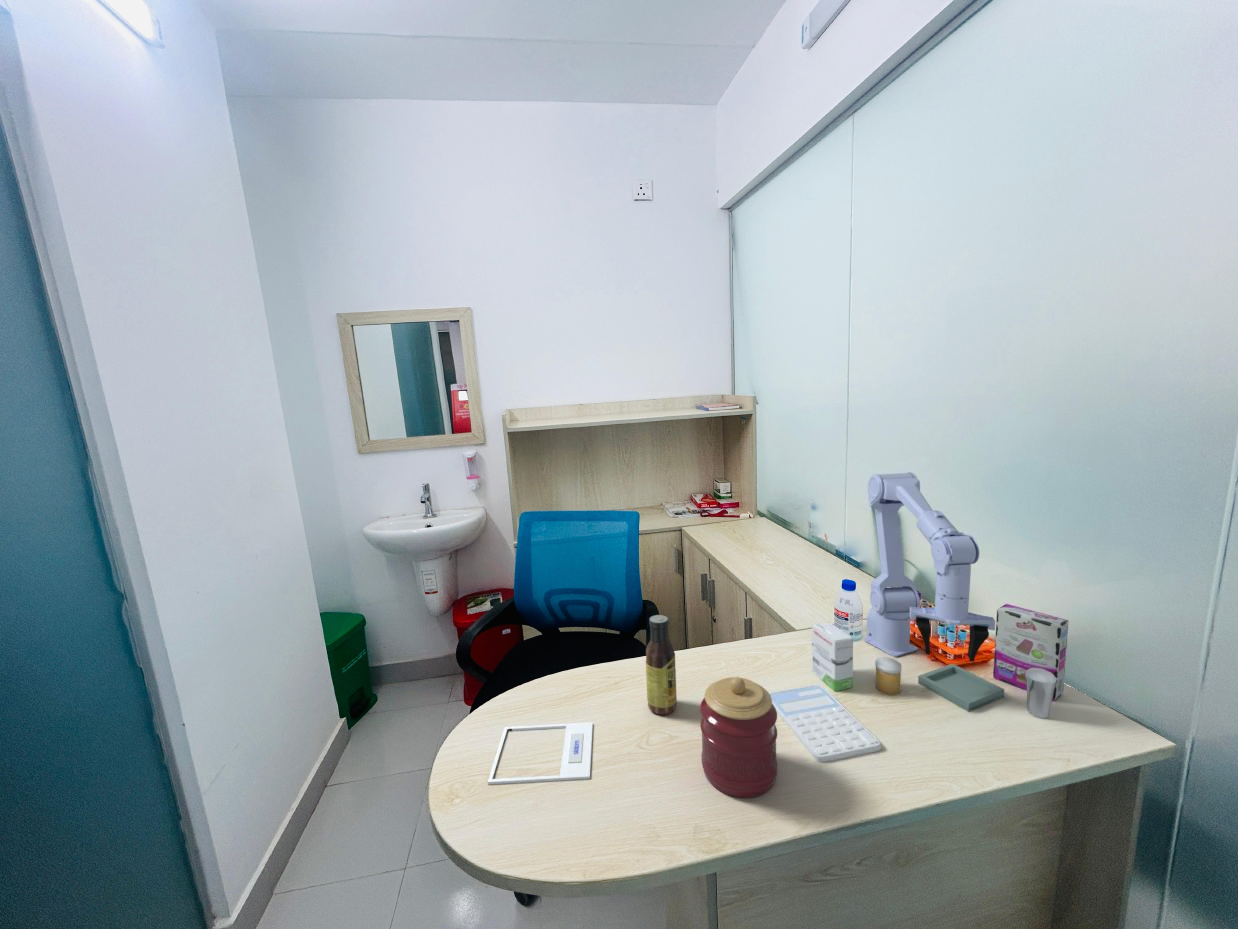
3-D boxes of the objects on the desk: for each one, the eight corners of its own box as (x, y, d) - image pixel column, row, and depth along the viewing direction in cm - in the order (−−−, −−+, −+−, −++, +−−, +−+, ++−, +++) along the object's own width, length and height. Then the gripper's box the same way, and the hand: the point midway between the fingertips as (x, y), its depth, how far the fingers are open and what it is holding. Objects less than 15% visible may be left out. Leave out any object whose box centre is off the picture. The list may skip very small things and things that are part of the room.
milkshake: (1059, 725, 96) (1063, 677, 95) (1023, 715, 100) (1027, 668, 98) (1057, 712, 100) (1061, 666, 98) (1023, 703, 103) (1026, 658, 102)
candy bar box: (1063, 693, 106) (1070, 619, 103) (1055, 702, 103) (1061, 627, 101) (1001, 670, 115) (1005, 602, 113) (991, 677, 112) (996, 608, 110)
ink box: (853, 688, 111) (854, 638, 109) (834, 692, 110) (835, 641, 108) (828, 667, 119) (829, 620, 118) (810, 671, 118) (810, 624, 117)
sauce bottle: (675, 717, 104) (672, 627, 101) (645, 715, 105) (641, 626, 102) (678, 698, 110) (675, 613, 107) (650, 696, 112) (646, 611, 109)
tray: (918, 683, 112) (918, 675, 111) (952, 670, 116) (952, 663, 115) (968, 711, 102) (968, 703, 101) (1003, 697, 106) (1004, 689, 105)
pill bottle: (869, 685, 112) (870, 660, 111) (886, 680, 114) (886, 655, 113) (889, 698, 107) (889, 672, 106) (905, 691, 109) (906, 666, 108)
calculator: (817, 766, 90) (818, 756, 90) (764, 700, 109) (764, 692, 109) (883, 752, 92) (884, 743, 92) (820, 690, 112) (820, 682, 112)
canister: (702, 797, 84) (699, 700, 81) (700, 743, 96) (698, 657, 94) (783, 803, 82) (783, 703, 79) (771, 746, 95) (770, 659, 92)
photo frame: (589, 775, 89) (487, 781, 89) (589, 781, 89) (487, 786, 89) (592, 721, 103) (504, 726, 103) (592, 726, 103) (505, 731, 103)
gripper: (912, 596, 102) (910, 658, 104) (1000, 606, 96) (996, 672, 98) (909, 583, 108) (907, 642, 110) (992, 592, 102) (987, 654, 104)
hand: (948, 655), depth 105 cm, fingers open, 7 cm apart
